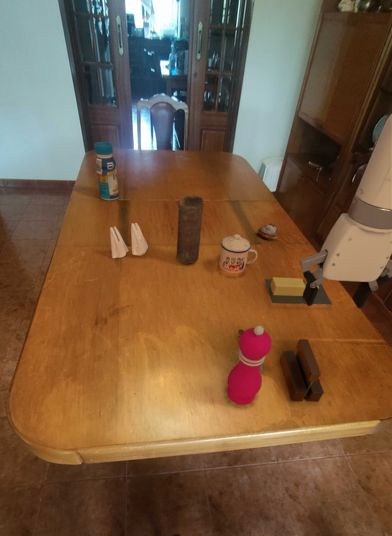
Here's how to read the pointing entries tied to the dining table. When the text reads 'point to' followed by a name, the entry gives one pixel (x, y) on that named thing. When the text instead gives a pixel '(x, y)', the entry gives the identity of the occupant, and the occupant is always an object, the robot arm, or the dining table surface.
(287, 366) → the dark wooden bar pair
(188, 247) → the candle
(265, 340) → the pepper mill
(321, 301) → the slate board
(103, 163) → the beverage bottle
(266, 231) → the pastry
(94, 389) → the dining table surface
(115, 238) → the shaker set
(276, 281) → the butter
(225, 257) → the teacup with lid
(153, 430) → the dining table surface
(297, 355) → the dark brown flat block
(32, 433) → the dining table surface
